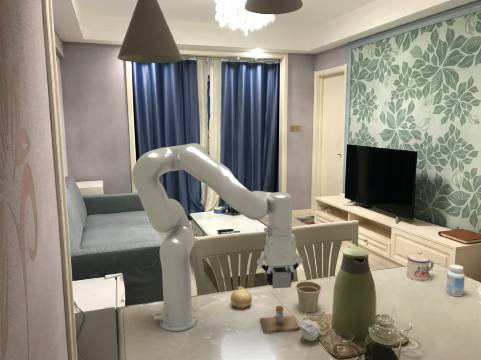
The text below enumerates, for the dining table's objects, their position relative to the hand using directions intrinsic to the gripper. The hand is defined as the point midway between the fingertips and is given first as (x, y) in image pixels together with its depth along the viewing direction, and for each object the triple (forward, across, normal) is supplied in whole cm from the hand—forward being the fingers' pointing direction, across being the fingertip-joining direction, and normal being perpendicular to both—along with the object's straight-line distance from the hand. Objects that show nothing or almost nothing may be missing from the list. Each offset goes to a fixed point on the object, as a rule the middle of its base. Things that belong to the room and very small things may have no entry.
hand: (279, 282), depth 131 cm
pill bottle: (+16, +74, +14) cm, 77 cm away
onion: (+16, -11, +16) cm, 25 cm away
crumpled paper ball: (+16, +8, -10) cm, 20 cm away
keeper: (+16, 0, 0) cm, 16 cm away
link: (+1, 0, 0) cm, 1 cm away
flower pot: (+16, +13, +10) cm, 23 cm away
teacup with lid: (+16, +70, +31) cm, 78 cm away
